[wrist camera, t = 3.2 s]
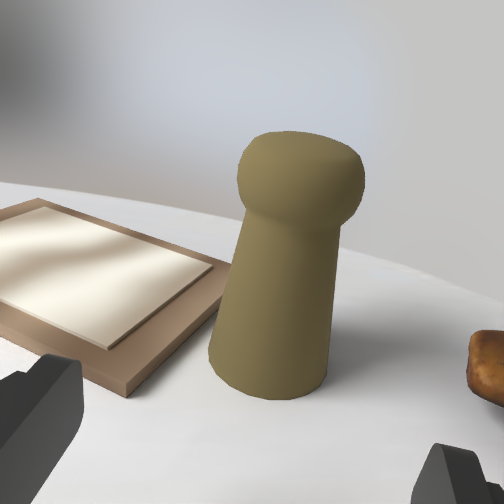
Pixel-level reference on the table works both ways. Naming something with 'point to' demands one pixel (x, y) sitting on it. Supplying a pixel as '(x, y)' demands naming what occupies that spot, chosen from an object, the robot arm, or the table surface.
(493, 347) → the brown lumpy oval piece
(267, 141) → the cork
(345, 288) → the table surface
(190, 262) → the brown picture frame
